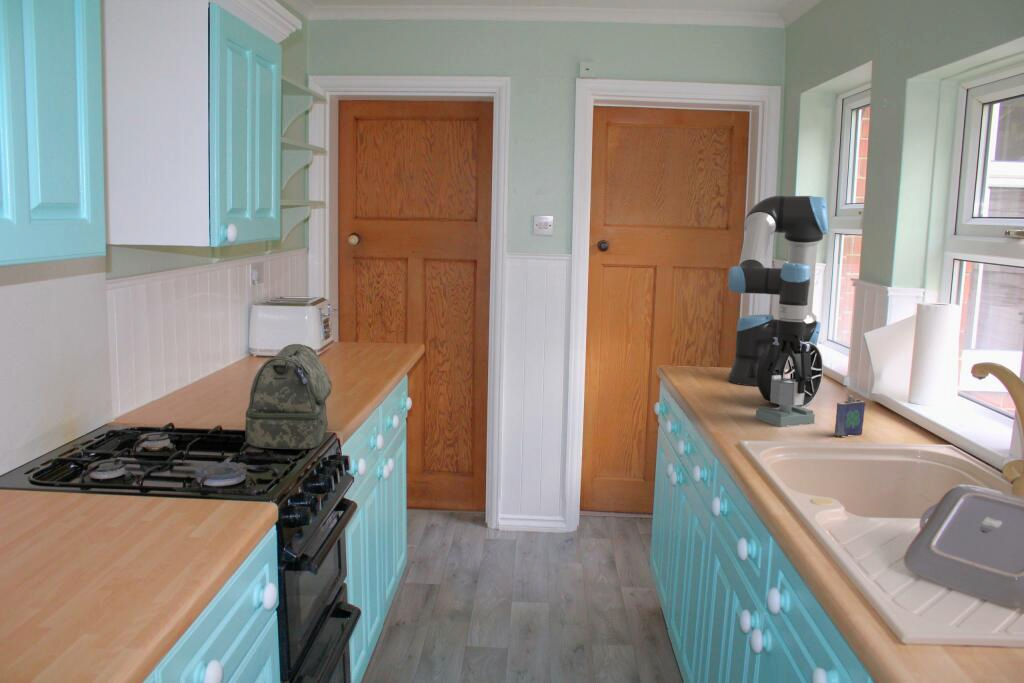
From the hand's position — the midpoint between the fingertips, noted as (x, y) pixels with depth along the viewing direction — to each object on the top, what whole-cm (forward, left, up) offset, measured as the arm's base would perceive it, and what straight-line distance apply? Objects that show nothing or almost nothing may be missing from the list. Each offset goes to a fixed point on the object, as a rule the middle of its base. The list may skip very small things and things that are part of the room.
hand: (785, 401), depth 235 cm
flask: (-5, +18, -6) cm, 20 cm away
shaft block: (0, 0, -6) cm, 6 cm away
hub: (0, 0, 0) cm, 0 cm away
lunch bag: (+130, -27, -6) cm, 133 cm away
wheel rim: (-16, -16, -6) cm, 23 cm away
